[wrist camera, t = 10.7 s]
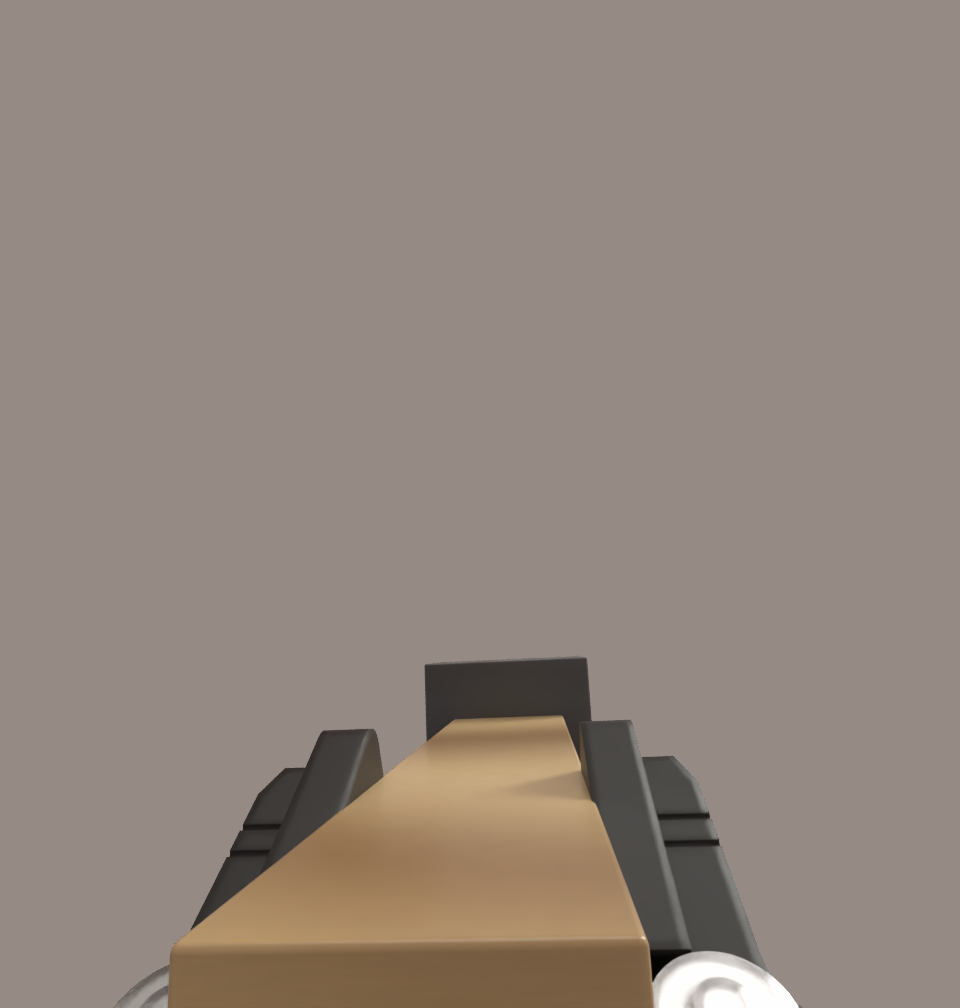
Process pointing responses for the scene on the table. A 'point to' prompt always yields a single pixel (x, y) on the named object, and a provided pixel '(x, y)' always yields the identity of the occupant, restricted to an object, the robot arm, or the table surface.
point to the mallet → (444, 874)
